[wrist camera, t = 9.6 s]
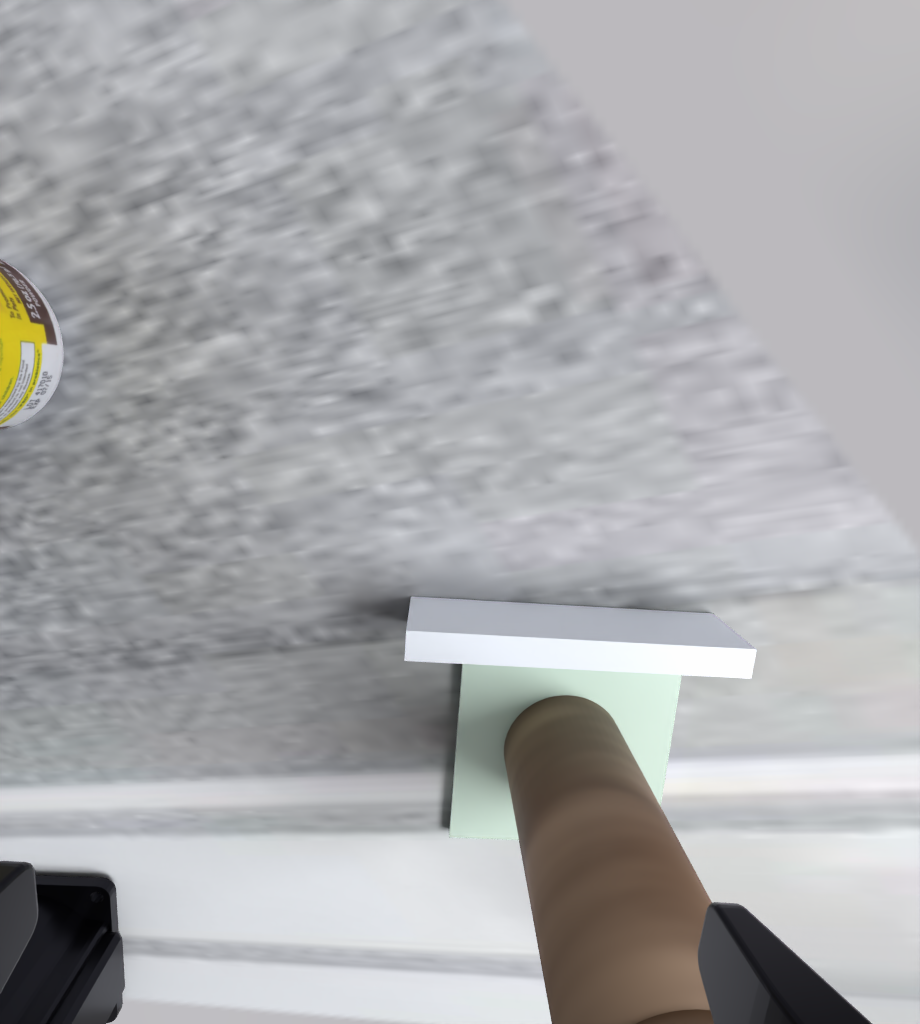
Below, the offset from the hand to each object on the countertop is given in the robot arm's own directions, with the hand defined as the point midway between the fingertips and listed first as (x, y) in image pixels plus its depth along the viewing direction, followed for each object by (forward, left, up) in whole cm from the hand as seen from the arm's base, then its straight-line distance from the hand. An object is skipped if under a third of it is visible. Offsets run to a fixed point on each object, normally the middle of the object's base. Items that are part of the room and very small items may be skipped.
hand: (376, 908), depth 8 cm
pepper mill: (+6, -6, -13) cm, 15 cm away
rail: (+5, -1, -13) cm, 14 cm away
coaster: (+6, -6, -13) cm, 16 cm away
